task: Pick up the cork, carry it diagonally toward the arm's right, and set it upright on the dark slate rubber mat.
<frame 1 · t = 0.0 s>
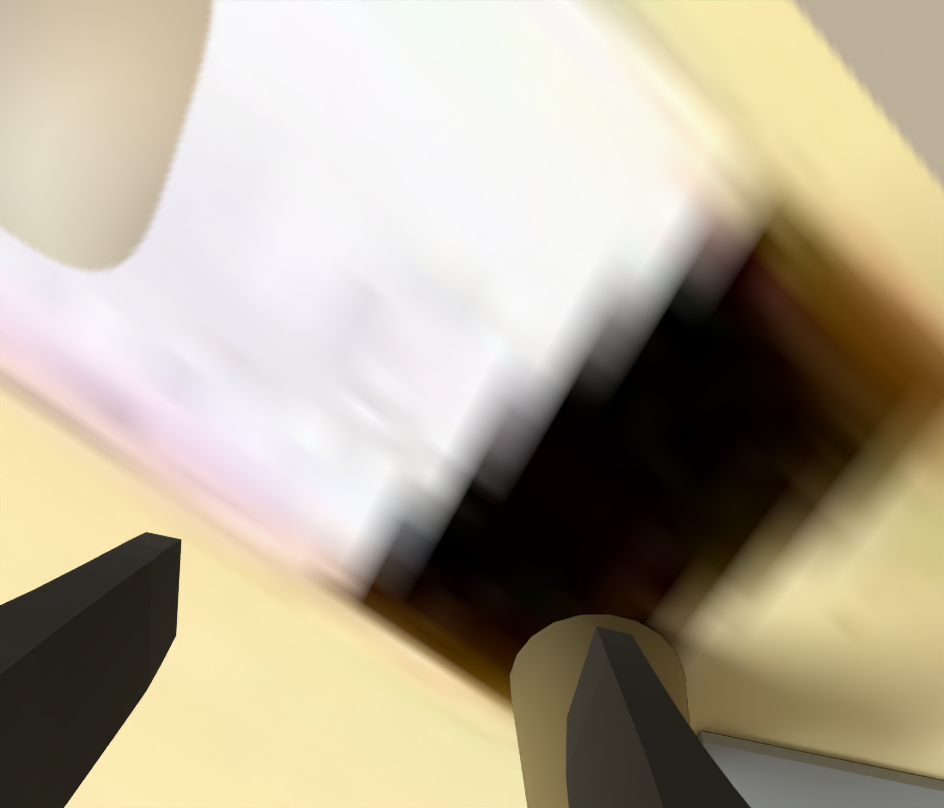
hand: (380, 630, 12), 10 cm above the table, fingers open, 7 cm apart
cork: (596, 681, 25), on the table
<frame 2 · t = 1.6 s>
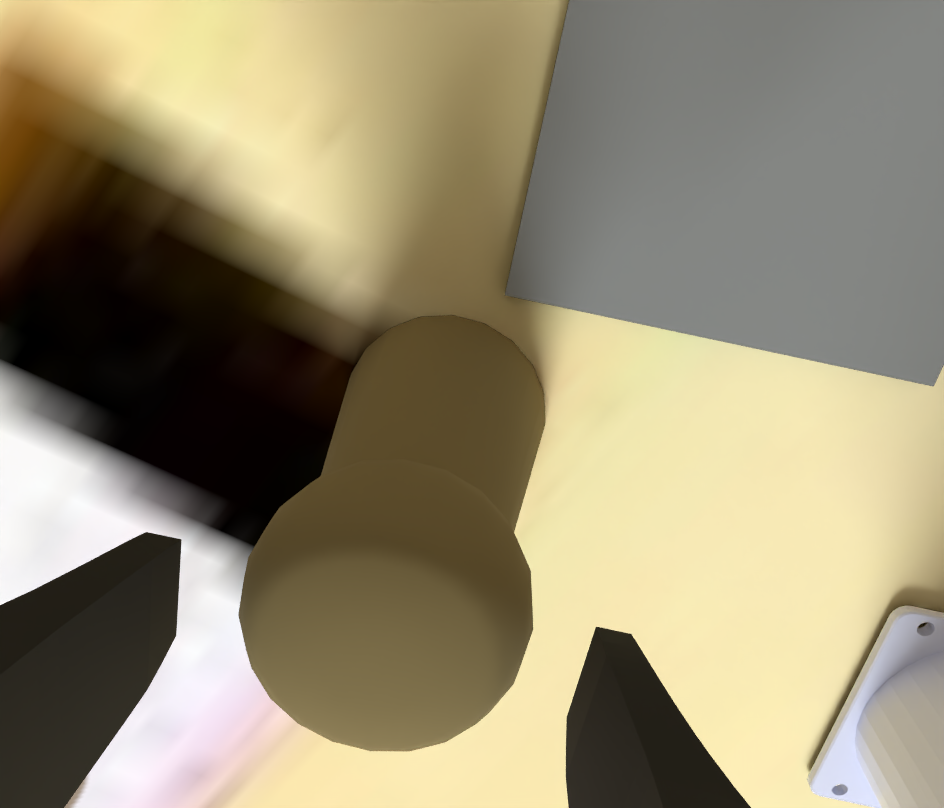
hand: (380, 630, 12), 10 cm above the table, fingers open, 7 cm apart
cork: (445, 410, 22), on the table
slate mat: (791, 108, 18), on the table
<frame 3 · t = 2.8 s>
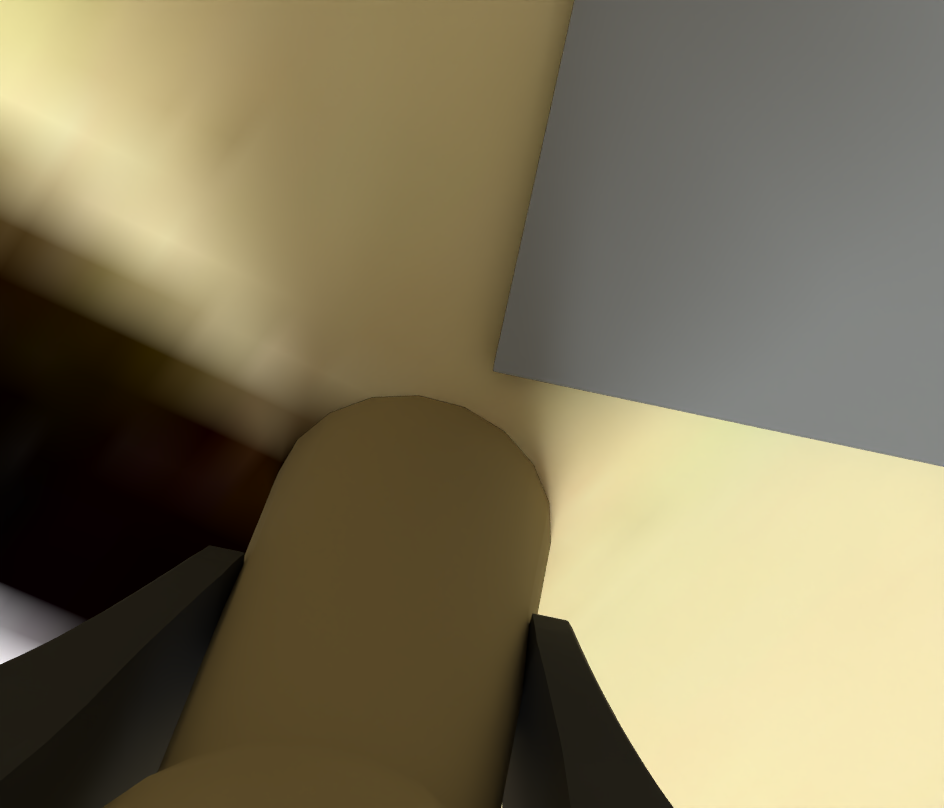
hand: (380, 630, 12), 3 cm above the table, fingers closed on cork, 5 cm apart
cork: (411, 522, 16), on the table, touching gripper
slate mat: (927, 98, 12), on the table
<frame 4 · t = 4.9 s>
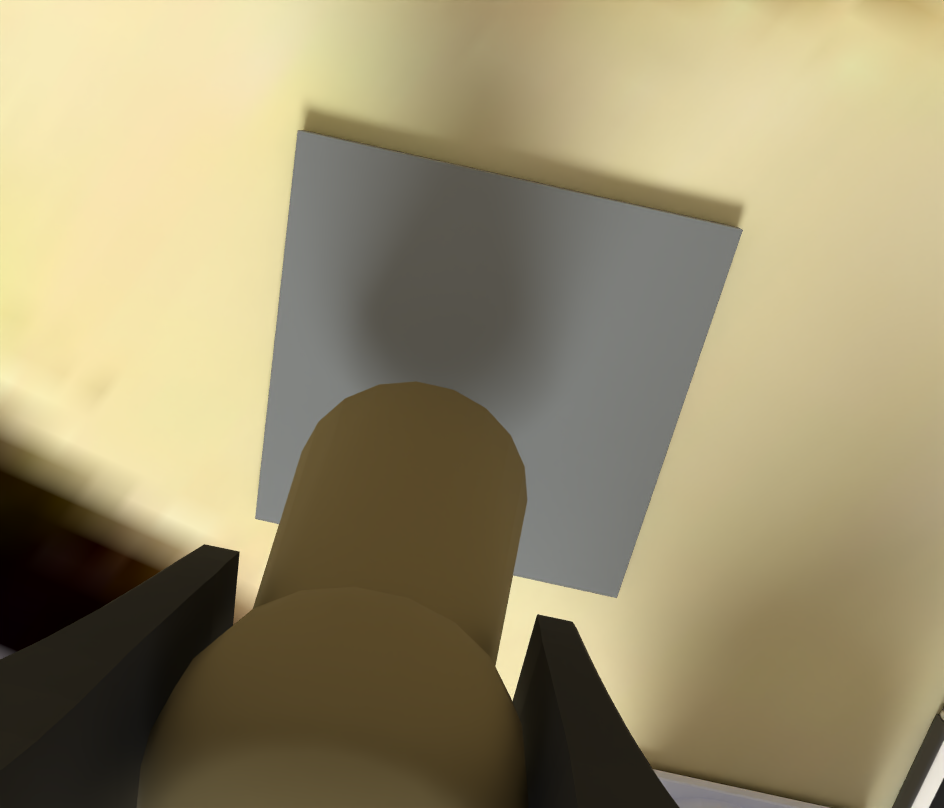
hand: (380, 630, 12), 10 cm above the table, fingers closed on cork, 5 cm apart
cork: (412, 489, 19), point 4 cm above the table, touching gripper
slate mat: (475, 383, 22), on the table
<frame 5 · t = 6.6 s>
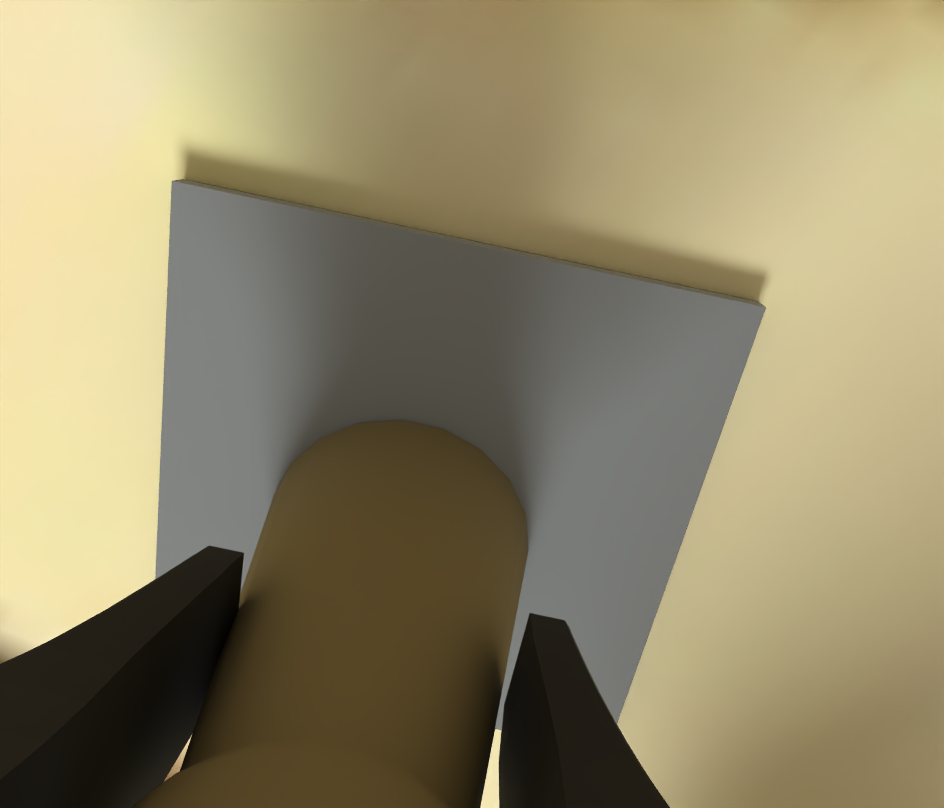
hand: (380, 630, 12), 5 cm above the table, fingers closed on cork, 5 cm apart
cork: (399, 535, 17), resting on slate mat, touching gripper
slate mat: (421, 494, 17), on the table
when the fingers open (5 cm above the table, at t = 6.9 s): cork stays where it is, resting on slate mat.
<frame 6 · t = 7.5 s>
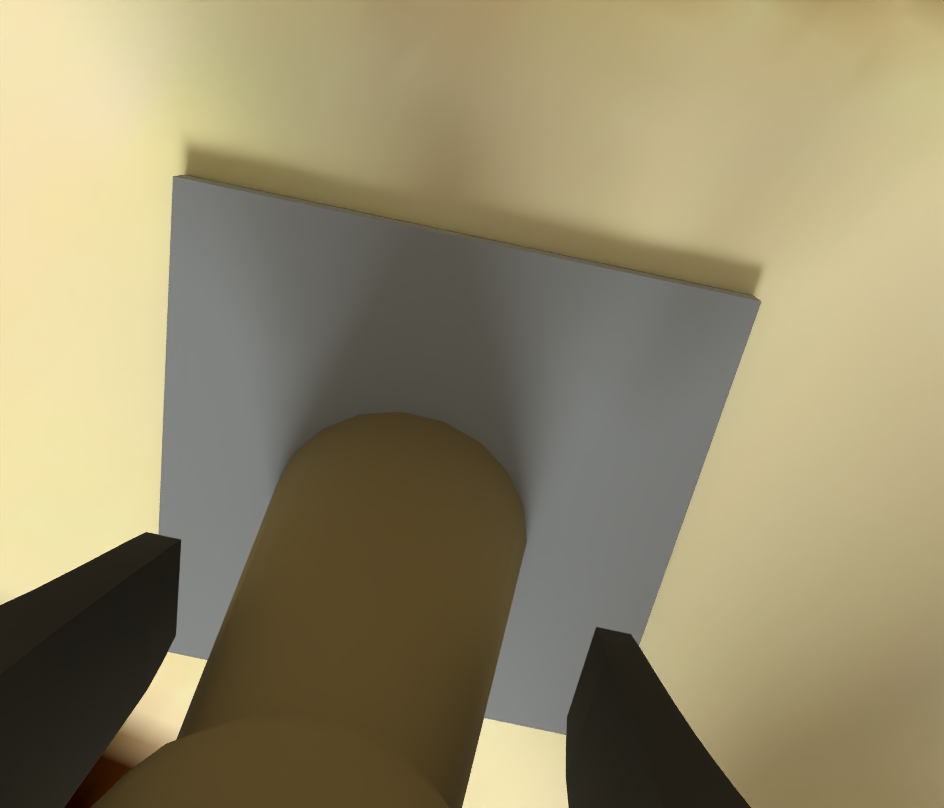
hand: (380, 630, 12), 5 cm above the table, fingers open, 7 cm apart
cork: (399, 526, 17), resting on slate mat
slate mat: (420, 487, 17), on the table
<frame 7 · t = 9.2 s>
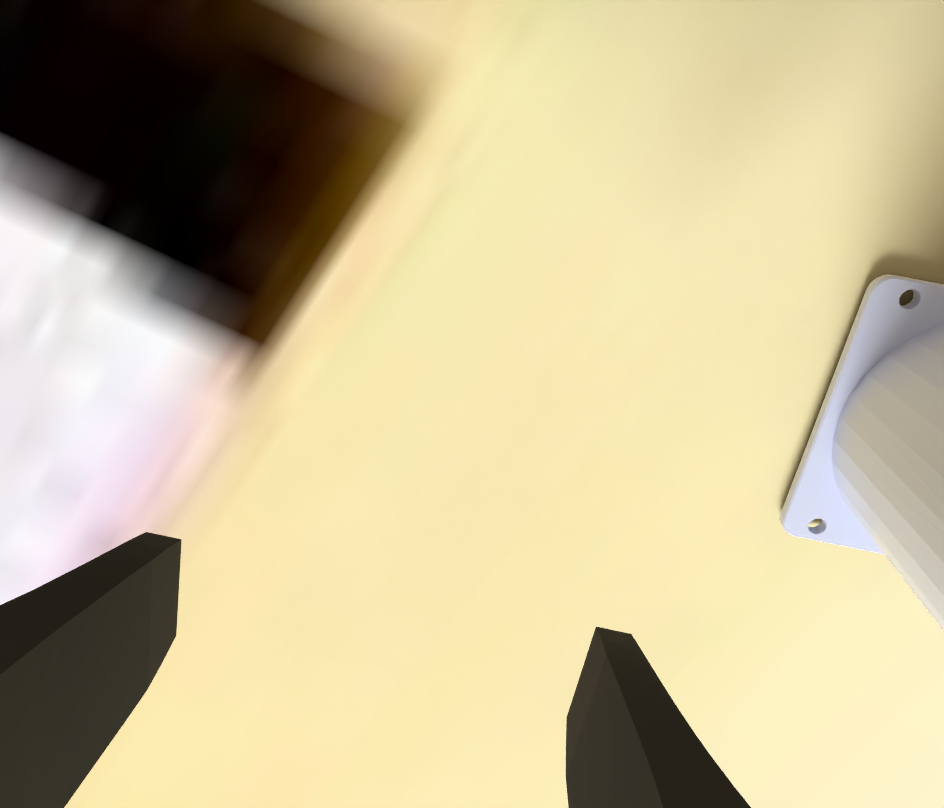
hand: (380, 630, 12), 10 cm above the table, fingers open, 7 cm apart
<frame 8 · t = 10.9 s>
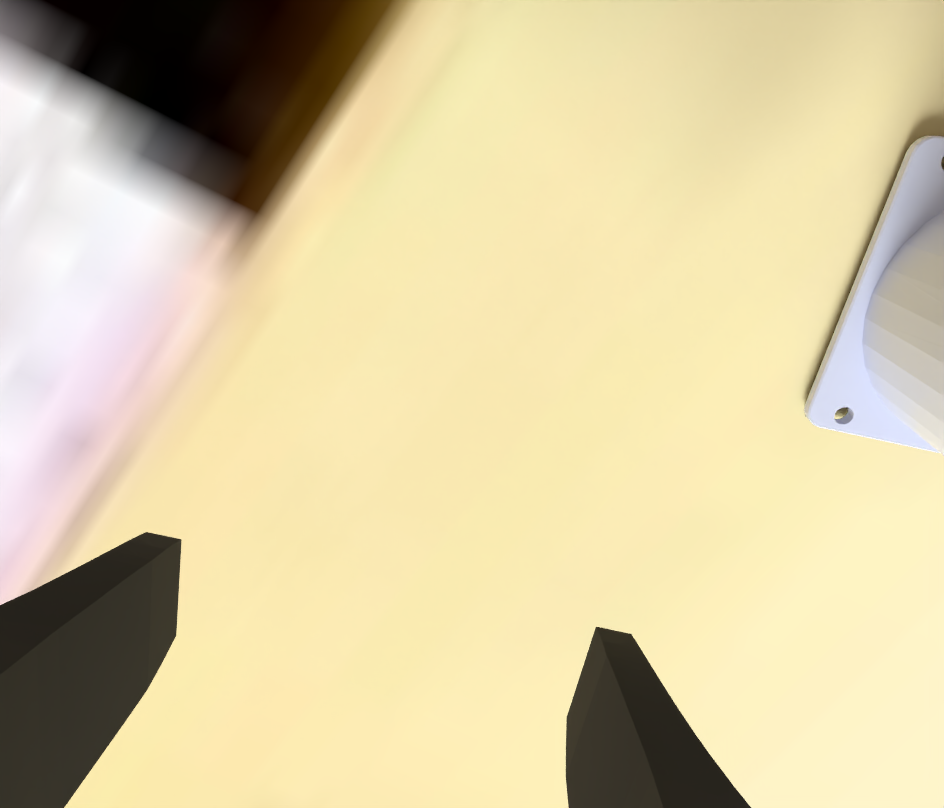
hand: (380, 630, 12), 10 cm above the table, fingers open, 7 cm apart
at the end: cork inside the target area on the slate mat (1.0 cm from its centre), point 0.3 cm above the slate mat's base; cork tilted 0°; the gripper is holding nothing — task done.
